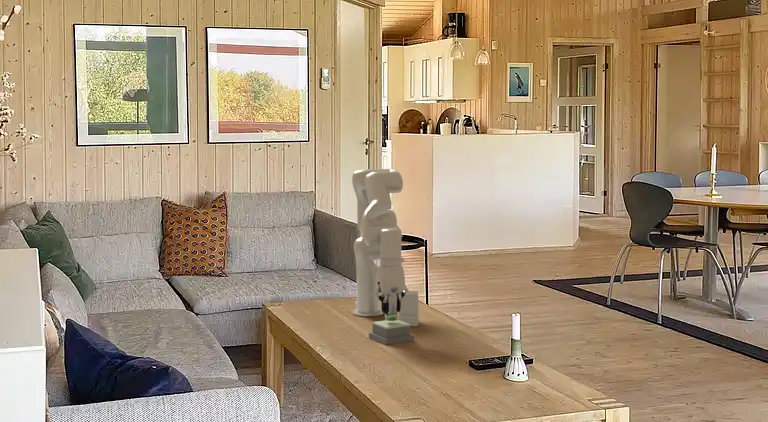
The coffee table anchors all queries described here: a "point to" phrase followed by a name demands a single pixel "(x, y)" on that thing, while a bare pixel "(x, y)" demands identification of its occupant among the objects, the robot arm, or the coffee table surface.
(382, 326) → the pedestal
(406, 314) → the supplement box
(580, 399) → the coffee table surface
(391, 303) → the clear jar with lid
